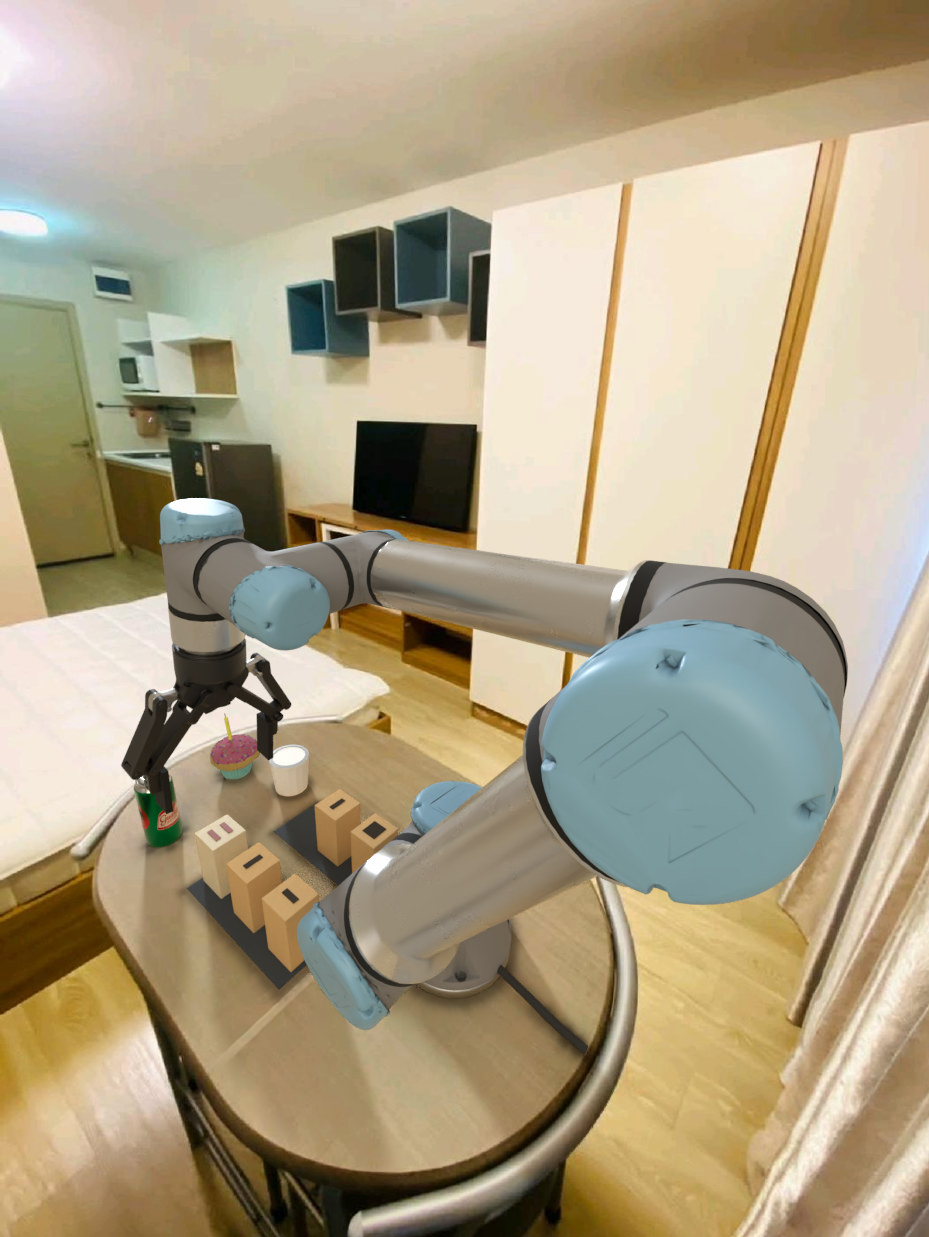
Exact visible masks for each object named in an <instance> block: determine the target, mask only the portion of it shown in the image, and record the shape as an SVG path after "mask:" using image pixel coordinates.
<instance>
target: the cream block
mask: <svg viewBox="0 0 929 1237" xmlns="http://www.w3.org/2000/svg"><path fill="white" fill-rule="evenodd" d="M247 836H248V835H247V830H246V829H245V828H244V827H243V826H242V825H240V823H238V822H237V821H236V820H235V819H234V818H232V817H231V815H229V814H228V813H227V814H225V815H223V816H222V817H220V818H218V819H216V820H215V821H213V822H211V823H209V824H208V825H206V826H205V827H203V828H201V829H200V830H197V831H196V832H195V833H194V838H195V843H196V849H197V853H198V858H199V863H200V870H201V875H202V878H203V880H204V882H205V883H206V884H207V885H208V886H209V887H210V888H211V889H212V890H213V891H214V892H215V893H216V894H217V895H218V896H219V897H220V898H221V899H222V898H224V897H225V896H226V895H228V894H229V893H231V891H230V885H229V879H228V873H227V867H226V863H228V862H229V861H231V860H232V859H234V858H235V857H237V856H238V855H240V854H241V853H243V852H244V851H246V850H248V849H249V845H248V844H249V843H248V837H247Z"/></svg>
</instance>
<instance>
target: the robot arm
mask: <svg viewBox="0 0 929 1237" xmlns="http://www.w3.org/2000/svg"><path fill="white" fill-rule="evenodd" d="M159 524H160V525H159V527H160V539H159V540H158V541H159V542H158V543H159V545H160V548H161V555H162V564H163V572H164V582H165V590H166V597H167V598H166V599H167V611H168V620H169V621H168V622H169V630H170V639H171V642H172V644H171V651H172V662H173V670H174V675H175V683H174V685H173V687H172V688H169V689H165V690H162V691H158V690H156V689H154V688H150V689H149V690H147V691H146V692H145V695H144V709H143V712H142V714H141V717H140V719H139V721H138V724H137V725H136V728H135V731H134V733H133V736H132V737H131V741H130V742H129V745H128V747H127V750H126V753H124V757H123V759H122V762H121V764H120V766H121V768H122V769H123V771H125V773H126V774H127V775H128V777H129V778H130V779H131V780H133V781H135V780H137V779H139V778H140V777H141V776H142V775H143V779H144V785H145V787H146V788H147V790H148V791H149V792H150V793H151V794H152V795H154V794H155V800H156V802H157V804H158V805H159V806H160V807H161V808H162V809H163V811H164V812H165V813H166V814H168V813H170V812H172V811H173V805H172V797H171V789H170V781H169V774H170V772H169V770H168V769H167V767H165V765H166V763H167V762H168V761H169V759H170V758H171V756H172V755H173V754H174V752H175V750H176V749H177V747H178V746H179V744H180V743H181V741H182V740H183V739H184V737H185V735H187V733H188V731H189V730H190V729H191V727H192V726H194V725H196V724H197V723H198V722H199V721H200V719H201V718H202V716H203V715H204V714H205V715H208V714H210V713H212V712H214V711H216V710H217V709H219V708H224V707H225V708H226V707H227V706H230V705H231V703H232V702H233V701H234V700H235V699H237V700H239V701H241V702H243V704H244V703H245V704H247V705H249V706H250V707H252V708H254V709H256V710H257V711H259V712H257V713H256V741H257V751H259V752H260V755H262V756H263V757H264V758H265V759H266V760H267V761H269V760H270V759H272V758H273V751H274V736H275V735H277V733H278V731H279V722H281V721H282V720H283V719H284V714H283V713H282V711H283V710H284V711H287V710H289V709H290V708H291V706H292V702H291V700H290V698H288V696H287V695H286V693H285V692H284V690H283V688H282V687H281V685H280V684H279V683H278V681H277V680H276V678H275V676H274V675H273V674H272V666H271V662H270V661H269V660H268V659H267V658H265V657H264V656H262V655H261V654H260V653H258V652H253V653H252V654H251V655H250V656H249V657H250V658H249V660H247V640H246V636H247V637H249V638H251V639H255V640H257V641H259V642H260V643H261V644H263V645H265V646H267V647H269V648H271V649H272V650H273V649H274V650H277V651H285V652H286V651H293V650H297V649H300V648H302V647H305V646H306V645H307V644H309V642H310V640H311V639H312V638H313V637H314V636H318V634H320V632H321V631H322V630H323V628H324V627H325V625H326V623H327V620H328V618H329V615H331V614H335V613H337V612H339V611H343V610H346V609H348V608H352V607H354V606H358V605H361V604H368V605H369V604H370V605H372V606H376V607H377V606H378V607H382V608H387V609H393V610H397V611H401V612H405V613H409V614H413V615H417V616H421V617H425V618H428V619H433V620H437V621H441V622H445V623H448V624H453V625H457V626H461V627H464V628H469V629H473V630H477V631H481V632H484V633H487V634H492V635H497V636H501V637H505V638H509V639H512V640H517V641H520V642H525V643H529V644H533V645H536V646H541V647H544V648H549V649H552V650H557V651H561V652H565V653H569V654H573V655H577V656H581V657H586V658H588V659H586V660H585V661H584V662H583V663H582V664H581V665H579V667H578V668H577V669H576V670H575V671H574V672H573V674H572V675H571V677H570V679H569V681H568V683H567V684H566V685H565V686H564V687H563V688H561V689H560V690H559V691H558V692H557V693H556V694H555V695H554V696H552V697H551V698H550V699H549V700H548V701H547V702H545V704H543V705H542V706H541V707H540V708H538V710H537V711H535V713H534V714H533V715H532V717H531V718H530V719H529V722H528V724H527V726H526V728H525V732H524V735H523V740H522V741H523V742H522V755H520V756H519V757H518V758H516V759H515V760H514V761H513V762H512V763H511V764H510V765H508V766H507V767H505V768H504V769H503V770H502V771H501V772H500V773H498V774H497V775H496V776H494V777H493V778H492V779H491V780H489V781H488V782H487V783H486V784H485V785H484V786H482V785H479V784H476V783H472V782H469V781H463V780H462V781H455V780H445V781H438V782H435V783H432V784H430V785H428V786H426V787H425V788H423V789H422V790H421V791H419V793H418V794H417V795H416V797H415V798H414V800H413V804H412V806H411V810H410V818H411V821H410V823H409V824H408V826H407V827H406V828H405V829H403V830H402V831H401V832H400V833H398V835H397V836H396V837H395V838H394V839H393V840H392V841H391V842H389V843H388V844H387V845H385V846H384V847H383V848H382V849H381V850H379V851H378V852H377V853H376V854H374V855H373V856H372V857H371V858H370V859H369V860H367V861H366V862H365V863H364V864H363V865H361V866H360V867H359V868H358V869H357V870H356V871H355V872H354V873H352V874H351V875H350V876H349V877H348V878H347V879H346V880H344V881H343V882H342V883H341V884H340V885H339V886H338V885H337V886H336V887H334V889H333V890H331V891H330V892H328V894H326V896H325V897H323V898H322V899H321V900H319V903H318V902H316V903H314V905H313V908H312V909H311V910H310V911H309V912H308V913H307V914H306V915H305V916H304V917H303V918H302V919H301V920H300V922H299V924H298V927H297V940H298V944H299V947H300V950H301V953H302V955H303V958H304V960H305V962H306V964H307V965H306V966H307V969H308V970H309V972H310V973H311V975H312V977H313V978H314V981H315V982H316V984H317V985H318V987H319V988H320V989H321V991H322V992H323V995H325V997H326V998H327V1000H328V1001H329V1002H330V1004H331V1005H332V1006H333V1007H334V1008H335V1010H336V1011H337V1012H338V1013H339V1014H340V1016H342V1017H343V1018H344V1019H345V1020H346V1021H347V1022H348V1023H349V1024H351V1025H352V1026H353V1027H354V1028H357V1029H359V1030H362V1031H369V1030H370V1031H371V1030H372V1029H374V1028H375V1027H376V1026H377V1025H379V1023H380V1022H381V1021H382V1020H383V1019H384V1018H387V1017H388V1016H389V1015H390V1014H391V1011H390V1009H391V1008H392V1007H393V1006H394V1005H395V1004H396V1003H397V1002H398V1000H400V998H401V997H402V996H403V995H405V993H406V992H407V991H408V990H410V989H412V988H413V987H415V986H417V987H418V988H420V989H422V990H423V991H425V992H427V993H429V994H431V995H434V996H436V997H439V998H446V999H464V998H469V997H473V996H476V995H479V994H480V993H483V992H484V991H486V990H488V988H490V987H492V986H493V985H494V984H495V983H496V982H497V981H498V980H499V978H500V977H501V978H502V979H503V980H504V981H505V982H506V983H507V984H508V985H509V986H510V987H511V988H512V989H513V990H514V991H516V993H518V995H519V996H520V997H521V998H522V999H523V1000H524V1001H525V1002H527V1003H528V1004H529V1005H530V1007H531V1008H532V1009H533V1010H534V1011H536V1013H537V1014H538V1015H540V1017H541V1018H542V1019H543V1020H544V1021H545V1022H546V1023H547V1024H548V1025H549V1026H550V1027H551V1028H552V1029H553V1030H554V1031H556V1033H558V1034H559V1035H560V1036H561V1037H562V1038H563V1039H564V1040H566V1042H568V1043H569V1044H570V1045H571V1046H573V1047H574V1048H575V1049H576V1050H577V1051H579V1052H580V1053H581V1054H582V1055H583V1056H585V1055H586V1053H587V1051H588V1048H589V1045H588V1044H587V1043H586V1042H584V1041H583V1040H582V1039H581V1038H580V1037H579V1036H578V1035H576V1034H575V1033H574V1032H573V1031H571V1030H570V1029H569V1028H568V1027H567V1026H566V1025H564V1024H563V1022H562V1021H560V1020H559V1019H558V1018H557V1017H556V1016H555V1015H554V1014H553V1013H552V1012H550V1010H549V1009H548V1008H546V1006H544V1005H543V1003H541V1001H539V999H537V997H536V996H534V995H533V994H532V993H531V992H530V991H529V990H528V988H526V987H525V985H523V984H522V983H521V982H520V981H519V980H518V979H517V978H516V977H515V976H514V975H513V974H512V973H511V972H510V971H509V970H507V966H508V962H509V960H510V957H511V951H512V941H513V938H512V937H513V935H512V926H511V925H512V924H511V921H510V919H512V918H514V917H516V916H518V915H520V914H523V913H524V912H527V911H528V910H531V909H533V908H535V907H537V906H539V905H541V904H544V903H545V902H547V901H549V900H551V899H554V898H555V897H558V896H559V895H562V894H564V893H566V892H568V891H570V890H573V888H576V887H578V886H581V885H582V884H585V883H586V882H589V881H590V880H593V879H595V878H597V877H599V878H600V879H602V880H604V881H607V882H609V883H611V884H612V885H617V886H620V887H623V888H630V889H632V890H634V891H636V892H639V893H641V894H643V895H649V894H650V893H651V894H652V891H653V890H654V889H658V890H660V891H664V892H666V893H667V896H668V899H670V900H671V901H672V902H673V903H676V904H684V905H690V906H711V905H713V906H715V905H724V904H731V903H735V902H740V901H743V900H747V899H749V898H753V897H756V896H758V895H760V894H763V893H765V892H767V891H769V890H771V889H773V888H774V887H776V886H777V885H780V883H782V882H783V881H785V880H786V879H787V878H788V877H790V876H791V875H792V874H793V873H794V872H795V871H796V870H797V869H798V868H799V867H800V866H801V865H802V864H803V863H804V861H806V859H807V858H808V856H809V855H810V854H811V852H812V851H813V849H814V848H815V846H816V844H817V842H818V841H819V838H820V836H821V834H822V831H823V829H824V826H825V823H826V820H827V819H828V817H829V815H830V813H831V810H832V808H833V807H834V805H835V802H836V800H837V796H838V793H839V785H840V782H841V780H842V773H843V762H844V751H843V750H844V748H843V744H842V741H841V733H842V720H843V710H844V709H843V708H844V698H845V694H846V689H847V684H848V679H849V678H848V674H849V664H848V658H847V653H846V648H845V644H844V640H843V638H842V636H841V634H840V631H839V630H838V628H837V626H836V624H835V623H834V621H833V620H832V618H831V617H830V616H829V614H828V613H827V611H826V610H825V609H824V608H823V607H821V605H820V604H818V602H816V600H815V599H813V598H812V597H811V596H810V595H808V594H807V593H805V592H804V591H802V590H801V589H800V588H798V587H796V586H794V585H792V584H790V583H788V582H786V581H785V580H781V579H779V578H777V577H774V576H771V575H767V574H764V573H759V572H755V571H752V570H743V569H736V568H735V569H734V568H726V567H718V566H709V565H698V564H697V565H696V564H685V563H673V562H667V561H658V560H650V559H643V560H642V561H640V562H638V563H637V564H636V565H634V566H633V567H632V568H630V569H629V570H626V569H618V568H611V567H604V566H595V565H589V564H583V563H582V564H581V563H574V562H566V561H559V560H552V559H544V558H537V557H530V556H523V555H517V554H516V555H515V554H509V553H501V552H493V551H486V550H478V549H472V548H471V549H470V548H465V547H464V548H463V547H457V546H451V545H449V546H448V545H441V544H434V543H428V542H427V543H426V542H419V541H413V540H409V539H408V538H406V537H405V536H404V535H402V534H401V533H400V532H399V531H398V530H394V529H386V528H385V529H373V530H371V529H369V530H364V531H362V532H360V533H356V534H352V535H351V534H350V535H347V536H343V537H338V538H333V539H328V540H324V541H318V542H313V543H308V544H304V545H297V546H293V547H289V548H283V549H279V550H275V551H269V550H265V549H263V548H262V547H259V546H258V545H256V544H254V543H253V542H250V541H249V540H247V539H245V537H244V536H245V534H244V533H245V532H246V528H245V526H244V520H243V515H242V513H241V511H240V509H239V508H238V507H237V506H236V505H235V504H232V503H230V502H228V501H225V500H219V499H214V498H204V497H203V498H201V497H199V498H197V497H195V498H193V497H191V498H182V499H177V500H174V501H172V502H169V503H167V504H165V505H164V506H163V508H161V511H160V513H159ZM250 674H252V675H253V676H255V677H256V678H257V679H258V681H259V682H260V684H261V685H262V686H263V688H264V689H265V691H266V692H267V693H268V695H269V696H270V697H271V699H272V701H270V702H268V701H266V700H265V699H263V698H262V697H260V696H259V695H257V694H255V693H254V692H252V691H250V690H249V689H247V688H246V687H244V686H243V685H244V684H245V682H246V680H247V679H248V677H249V675H250ZM172 705H173V706H172ZM187 707H188V708H190V709H191V711H190V710H188V708H187ZM170 712H172V713H171V714H170V715H169V717H168V713H170ZM167 717H168V718H167Z"/></svg>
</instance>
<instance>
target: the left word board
mask: <svg viewBox="0 0 929 1237" xmlns="http://www.w3.org/2000/svg"><path fill="white" fill-rule="evenodd" d="M226 867H227V873H228V879H229V885H230V891H231V893H229V894H228V895H226V896H225V897H224V898H222V899H221V898H220V897H219V896H218V895H217V894H216V893H215V892H214V891H213V890H212V889H211V888H210V887H209V886H208V885H207V884H206V883H205V882H204V880H203V877H201V878H200V879H199V880H197V881H195V882H194V883H192V884H191V885H189V886H188V887H186V888H187V891H189V892H190V894H192V896H193V897H194V898H195V899H196V900H197V901H198V902H199V904H200V905H201V906H202V907H203V908H204V909H205V910H206V911H207V912H208V913H209V915H210V916H211V917H212V918H213V919H214V920H215V921H216V922H217V924H219V926H221V928H222V929H223V930H224V932H226V933H227V935H228V936H229V937H230V938H231V939H232V940H233V942H235V943H236V945H238V946H239V948H240V949H241V950H242V951H243V952H244V953H245V955H246V956H247V957H248V958H249V959H250V960H251V961H252V962H253V963H254V965H256V966H257V968H258V969H259V970H260V971H261V972H262V973H263V974H264V975H265V976H266V978H267V979H268V980H269V981H270V982H271V983H272V984H273V986H274V987H276V989H277V990H278V991H280V990H281V989H282V988H283V987H284V986H285V985H287V984H288V982H290V981H291V980H292V979H293V978H294V977H295V976H296V975H297V974H298V973H300V972H301V970H302V969H304V968H305V967H306V966H307V964H306V962H305V960H304V958H303V955H302V953H301V950H300V947H299V944H298V940H297V927H298V924H299V922H300V920H301V919H302V918H303V917H304V916H305V915H306V914H307V913H308V912H309V911H310V910H311V909H312V908H313V905H314V903H316V902H318V903H319V902H320V895H319V893H318V892H317V891H316V890H315V889H313V887H311V885H309V884H308V883H306V881H304V880H303V878H301V877H299V876H298V875H297V874H296V873H293V874H292V875H290V876H289V877H288V878H287V879H285V880H284V881H283V876H282V867H281V860H280V859H279V858H278V857H277V856H276V855H275V854H274V853H272V852H271V851H270V850H269V849H268V848H267V847H266V846H264V845H263V844H262V843H261V841H258V842H257V843H255V844H253V845H252V846H250V847H248V850H246V851H244V852H243V853H241V854H240V855H238V856H237V857H235V858H234V859H232V860H231V861H229V862H228V863H226Z"/></svg>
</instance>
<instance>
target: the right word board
mask: <svg viewBox="0 0 929 1237" xmlns="http://www.w3.org/2000/svg"><path fill="white" fill-rule="evenodd" d="M273 833H274V834H276V835H277V836H278V837H279V838H280V839H282V840H283V841H284V842H285V843H287V845H288V846H290V847H291V848H292V849H294V850H295V851H296V852H297V853H299V855H301V856H302V857H304V858H305V859H306V860H307V861H308V862H309V863H310V864H312V865H313V866H314V867H316V869H318V870H319V871H320V872H321V873H323V874H324V875H325V876H326V877H328V879H330V880H331V881H332V882H333V883H335V884H336V885H337V886H339V885H340V884H341V883H342V882H343V881H344V880H346V879H347V878H348V877H349V876H350V875H351V874H352V873H354V872H355V871H356V870H357V869H358V868H359V867H360V866H361V865H363V864H364V863H365V862H366V861H367V860H369V859H370V858H371V857H372V856H373V855H374V854H376V853H377V852H378V851H379V850H381V849H382V848H383V847H384V846H385V845H387V844H388V843H389V842H391V841H392V840H393V839H394V838H395V837H396V836H397V835H399V828H398V827H396V826H395V825H393V824H392V823H390V822H389V821H387V820H386V819H384V818H383V817H381V816H380V815H379V814H377V813H373V814H372V815H371V816H369V817H368V818H366V819H365V820H364V821H363V822H362V816H361V802H360V801H358V800H357V799H355V798H353V797H352V796H351V795H349V794H348V793H346V792H345V791H343V790H342V789H341V788H338V789H337V790H336V791H334V792H333V793H331V794H329V795H328V796H326V797H325V798H324V799H322V800H321V801H320V800H319V801H317V802H315V803H314V804H312V805H311V806H310V807H308V808H307V809H305V810H304V811H302V812H300V813H299V814H297V815H296V816H294V817H293V818H291V819H290V820H288V821H286V823H284V824H282V825H280V826H279V827H278V828H276V829H274V830H273Z"/></svg>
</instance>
